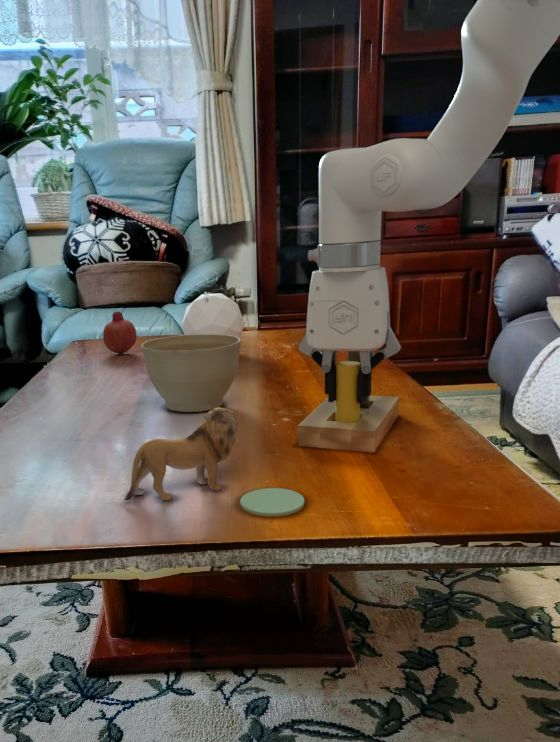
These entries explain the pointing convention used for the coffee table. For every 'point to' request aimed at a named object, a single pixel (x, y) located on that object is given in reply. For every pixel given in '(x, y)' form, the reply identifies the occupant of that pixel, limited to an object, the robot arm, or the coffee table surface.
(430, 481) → the coffee table surface
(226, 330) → the geodesic sphere
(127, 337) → the fruit
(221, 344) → the planter bowl
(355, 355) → the walnut peg
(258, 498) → the coaster
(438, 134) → the robot arm
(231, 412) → the lion figurine
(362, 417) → the stand
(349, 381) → the yellow peg
